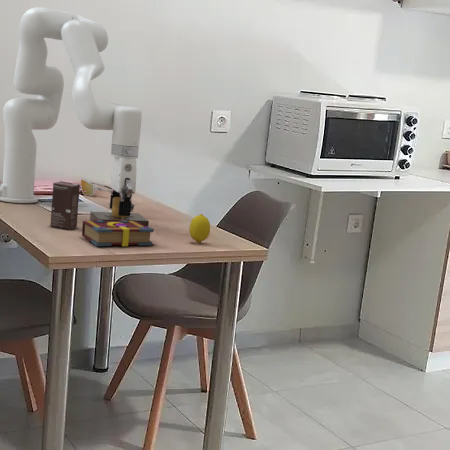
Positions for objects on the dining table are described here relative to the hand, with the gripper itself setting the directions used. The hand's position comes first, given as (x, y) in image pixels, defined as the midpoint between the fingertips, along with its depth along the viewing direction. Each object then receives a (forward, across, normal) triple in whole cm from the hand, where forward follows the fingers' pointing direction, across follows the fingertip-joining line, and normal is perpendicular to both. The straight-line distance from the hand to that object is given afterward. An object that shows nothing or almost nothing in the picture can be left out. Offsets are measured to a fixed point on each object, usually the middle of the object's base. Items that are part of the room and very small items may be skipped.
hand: (119, 212), depth 210 cm
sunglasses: (+4, +55, -8) cm, 56 cm away
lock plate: (+4, 0, 0) cm, 4 cm away
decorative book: (+4, -19, +5) cm, 20 cm away
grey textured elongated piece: (+4, +16, -6) cm, 18 cm away
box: (+4, -3, +16) cm, 17 cm away
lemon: (+4, -19, -17) cm, 26 cm away
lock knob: (+1, 0, 0) cm, 1 cm away
